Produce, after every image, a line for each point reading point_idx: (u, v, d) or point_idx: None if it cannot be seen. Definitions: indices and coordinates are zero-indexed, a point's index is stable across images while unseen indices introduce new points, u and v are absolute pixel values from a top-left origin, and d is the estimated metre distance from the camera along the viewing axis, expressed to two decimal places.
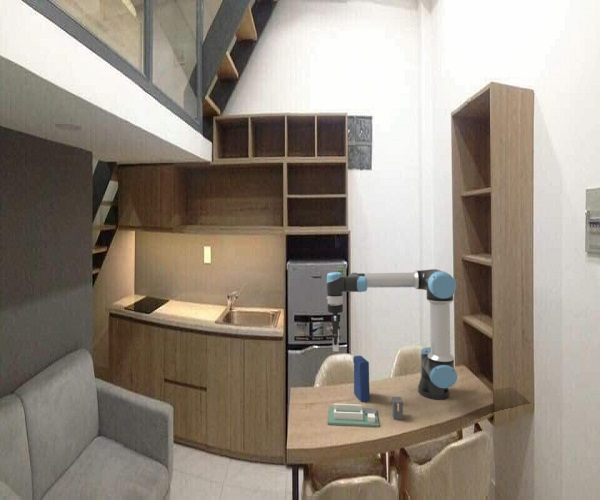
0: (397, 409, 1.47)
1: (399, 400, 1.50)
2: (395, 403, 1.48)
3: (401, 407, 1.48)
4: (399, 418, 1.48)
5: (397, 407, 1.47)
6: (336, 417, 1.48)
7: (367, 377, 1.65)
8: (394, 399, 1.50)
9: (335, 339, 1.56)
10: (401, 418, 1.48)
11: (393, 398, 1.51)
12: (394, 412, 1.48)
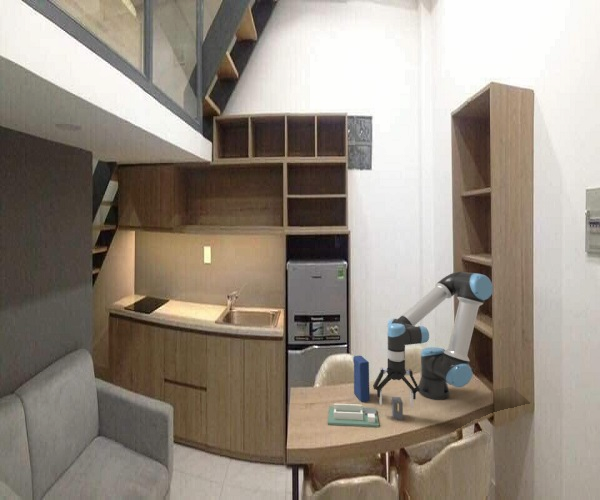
0: (397, 409, 1.47)
1: (399, 400, 1.50)
2: (395, 403, 1.48)
3: (401, 407, 1.48)
4: (399, 418, 1.48)
5: (397, 407, 1.47)
6: (336, 417, 1.48)
7: (367, 377, 1.65)
8: (394, 399, 1.50)
9: (377, 391, 1.51)
10: (401, 418, 1.48)
11: (393, 398, 1.51)
12: (394, 412, 1.48)
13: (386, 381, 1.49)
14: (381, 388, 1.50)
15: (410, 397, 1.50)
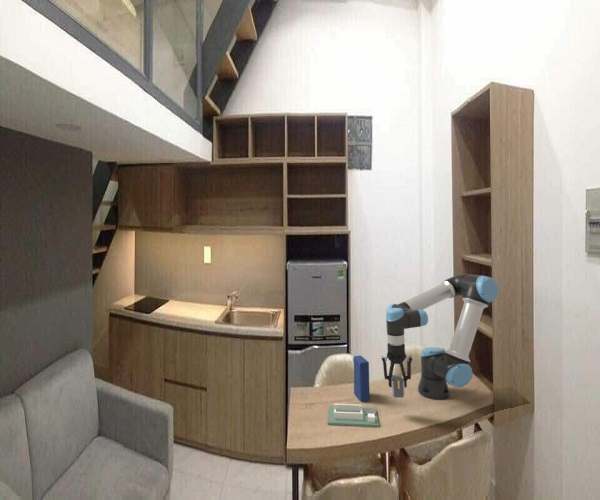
0: (398, 386, 1.47)
1: (400, 377, 1.49)
2: (395, 381, 1.48)
3: (401, 384, 1.47)
4: (400, 395, 1.48)
5: (397, 384, 1.47)
6: (336, 417, 1.48)
7: (367, 377, 1.65)
8: (394, 377, 1.50)
9: (388, 380, 1.50)
10: (402, 395, 1.48)
11: (393, 376, 1.51)
12: (395, 390, 1.48)
13: (392, 368, 1.49)
14: (391, 377, 1.49)
15: None
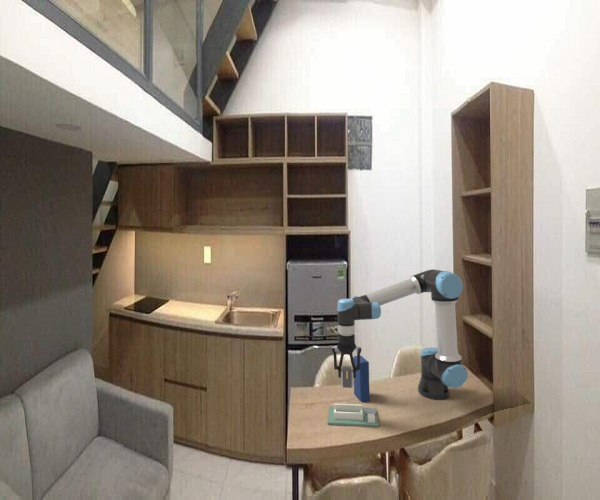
0: (346, 377, 1.48)
1: (349, 368, 1.50)
2: (344, 371, 1.48)
3: (350, 375, 1.48)
4: (348, 385, 1.48)
5: (346, 374, 1.48)
6: (336, 417, 1.48)
7: (367, 377, 1.65)
8: (344, 367, 1.50)
9: (338, 371, 1.51)
10: (350, 386, 1.48)
11: (343, 366, 1.52)
12: (343, 380, 1.48)
13: (341, 358, 1.50)
14: None
15: None
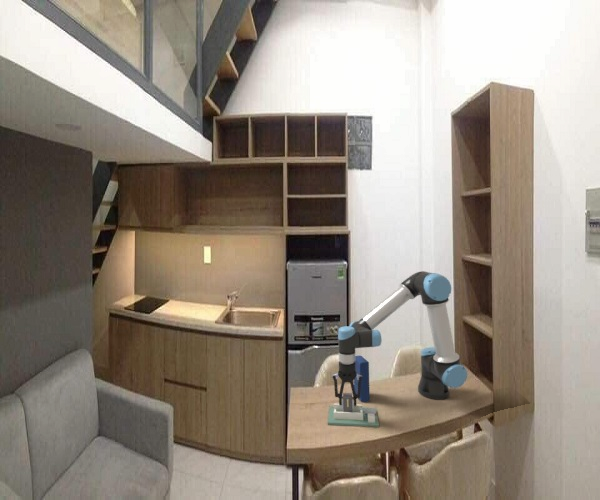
0: (347, 405, 1.48)
1: (350, 395, 1.51)
2: (345, 399, 1.49)
3: (351, 403, 1.48)
4: None
5: (347, 403, 1.48)
6: (336, 417, 1.48)
7: (367, 377, 1.65)
8: (344, 395, 1.51)
9: (339, 398, 1.52)
10: None
11: (344, 394, 1.52)
12: (344, 408, 1.49)
13: (342, 386, 1.50)
14: (341, 395, 1.50)
15: None
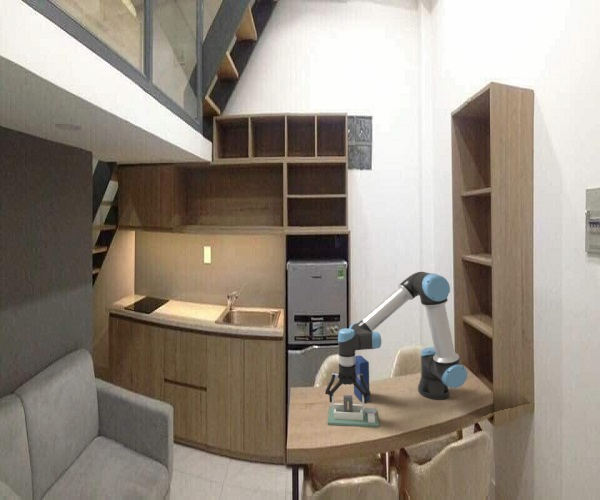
0: (347, 407, 1.48)
1: (350, 398, 1.51)
2: (345, 401, 1.49)
3: (351, 405, 1.48)
4: None
5: (347, 405, 1.48)
6: (336, 417, 1.48)
7: (367, 377, 1.65)
8: (345, 398, 1.51)
9: (329, 395, 1.52)
10: None
11: (344, 396, 1.52)
12: (344, 410, 1.49)
13: (337, 386, 1.50)
14: None
15: None
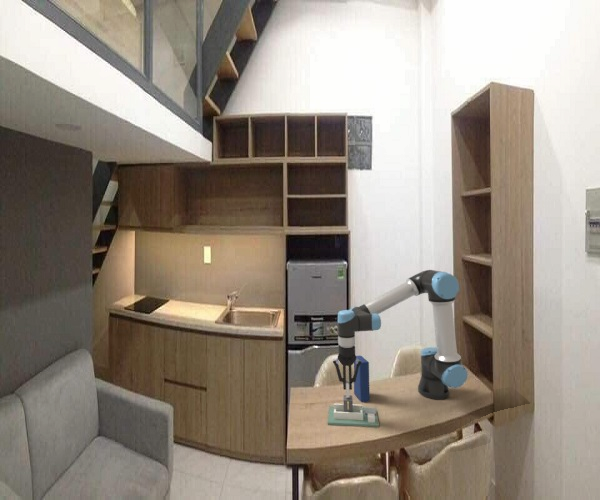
0: (347, 407, 1.48)
1: (350, 398, 1.51)
2: (345, 401, 1.49)
3: (351, 405, 1.48)
4: None
5: (347, 405, 1.48)
6: (336, 417, 1.48)
7: (367, 377, 1.65)
8: (345, 398, 1.51)
9: (343, 383, 1.51)
10: None
11: (344, 396, 1.52)
12: (344, 410, 1.49)
13: (344, 370, 1.50)
14: (345, 379, 1.50)
15: None
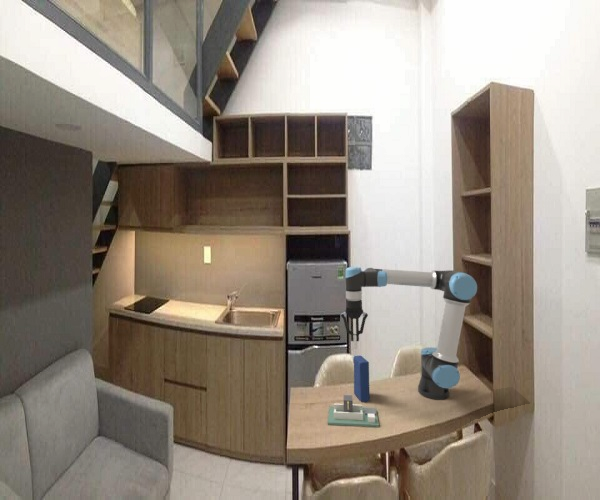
0: (347, 407, 1.48)
1: (350, 398, 1.51)
2: (345, 401, 1.49)
3: (351, 405, 1.48)
4: None
5: (347, 405, 1.48)
6: (336, 417, 1.48)
7: (367, 377, 1.65)
8: (345, 398, 1.51)
9: None
10: None
11: (344, 396, 1.52)
12: (344, 410, 1.49)
13: (351, 323, 1.59)
14: (352, 331, 1.59)
15: None
